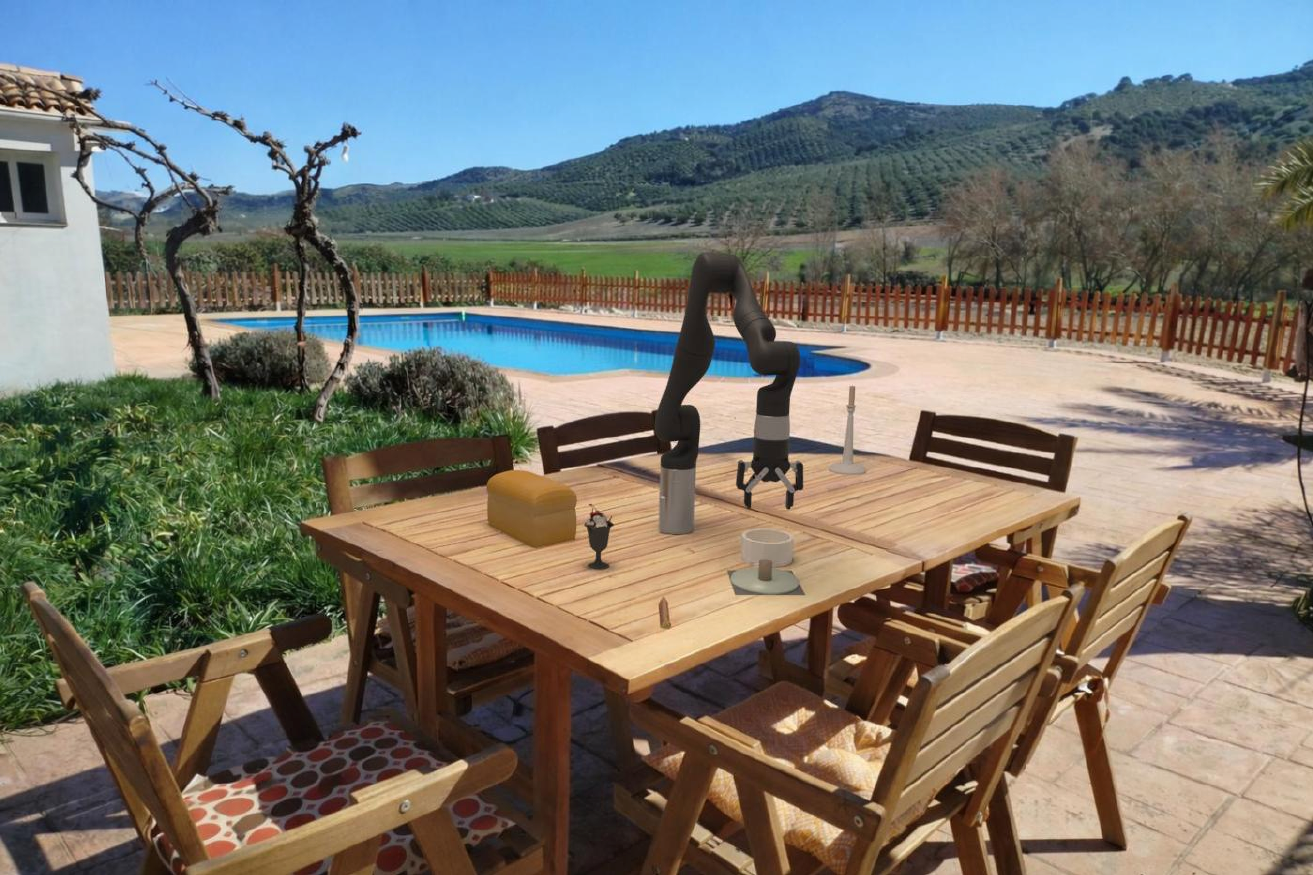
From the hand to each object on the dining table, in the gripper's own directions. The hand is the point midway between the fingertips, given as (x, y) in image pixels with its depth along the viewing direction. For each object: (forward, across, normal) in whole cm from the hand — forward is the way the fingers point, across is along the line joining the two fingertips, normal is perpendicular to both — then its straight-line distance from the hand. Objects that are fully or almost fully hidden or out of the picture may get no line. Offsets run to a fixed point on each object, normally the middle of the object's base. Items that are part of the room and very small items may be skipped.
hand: (768, 508), depth 190 cm
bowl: (+17, +3, +16) cm, 24 cm away
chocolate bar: (+18, -23, -18) cm, 34 cm away
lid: (+17, 0, 0) cm, 17 cm away
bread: (+18, -55, +37) cm, 69 cm away
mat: (+17, 0, 0) cm, 17 cm away
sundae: (+17, -37, +11) cm, 42 cm away
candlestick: (+17, +47, +111) cm, 122 cm away
